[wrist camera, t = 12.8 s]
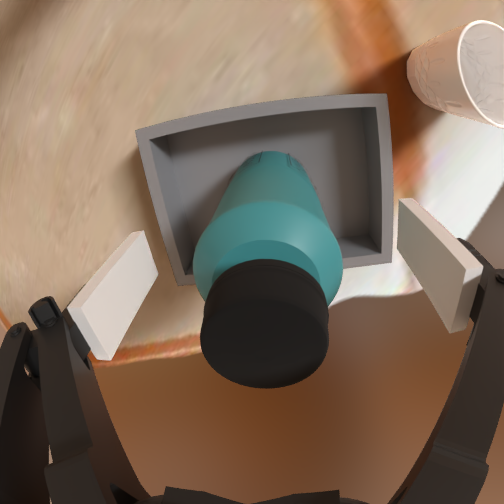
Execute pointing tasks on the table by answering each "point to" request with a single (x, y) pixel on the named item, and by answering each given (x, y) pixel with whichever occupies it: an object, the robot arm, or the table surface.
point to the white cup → (462, 72)
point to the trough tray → (286, 141)
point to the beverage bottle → (267, 275)
